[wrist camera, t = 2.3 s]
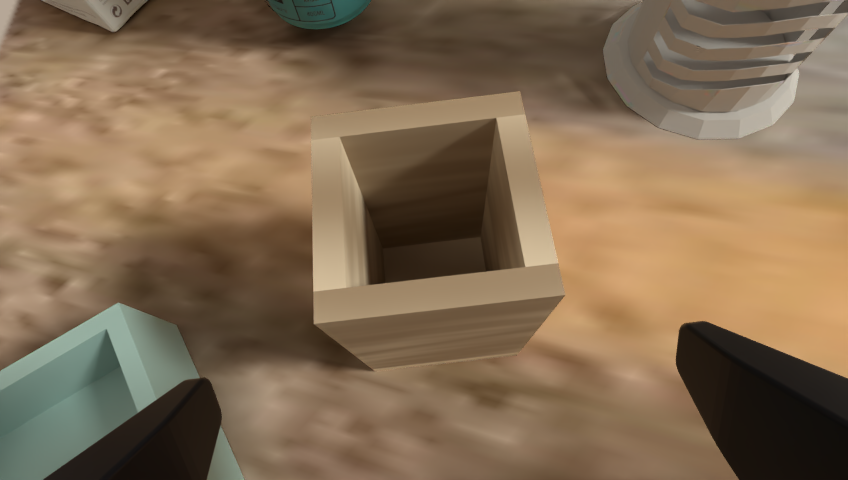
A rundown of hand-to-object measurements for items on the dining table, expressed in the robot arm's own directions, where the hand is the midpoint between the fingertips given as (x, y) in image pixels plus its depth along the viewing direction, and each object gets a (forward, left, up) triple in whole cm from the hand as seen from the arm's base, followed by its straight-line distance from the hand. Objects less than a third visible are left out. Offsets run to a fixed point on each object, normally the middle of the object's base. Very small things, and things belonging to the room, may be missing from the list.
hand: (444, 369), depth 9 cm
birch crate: (+3, +3, -11) cm, 12 cm away
